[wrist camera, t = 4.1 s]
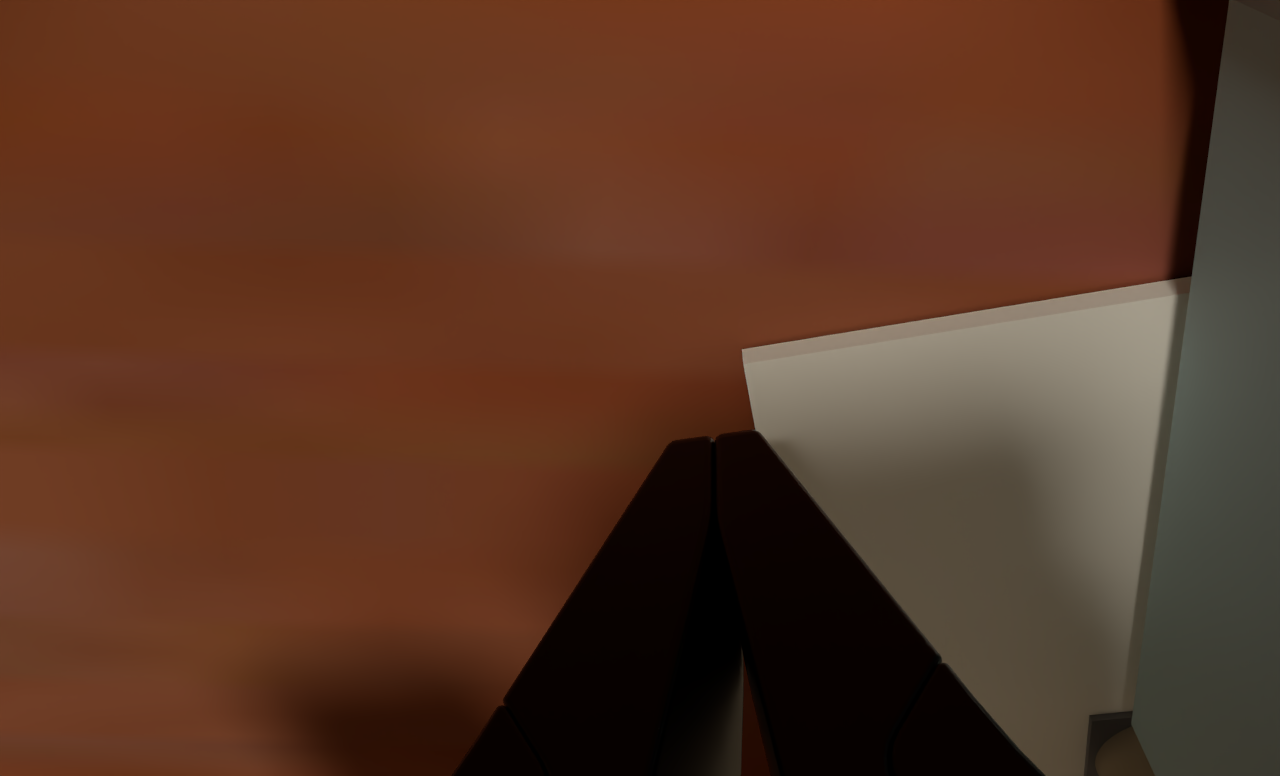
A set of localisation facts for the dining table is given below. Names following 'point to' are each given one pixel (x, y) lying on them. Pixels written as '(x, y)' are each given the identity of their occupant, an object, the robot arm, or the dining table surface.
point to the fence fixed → (1122, 756)
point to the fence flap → (1224, 450)
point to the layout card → (1000, 489)
